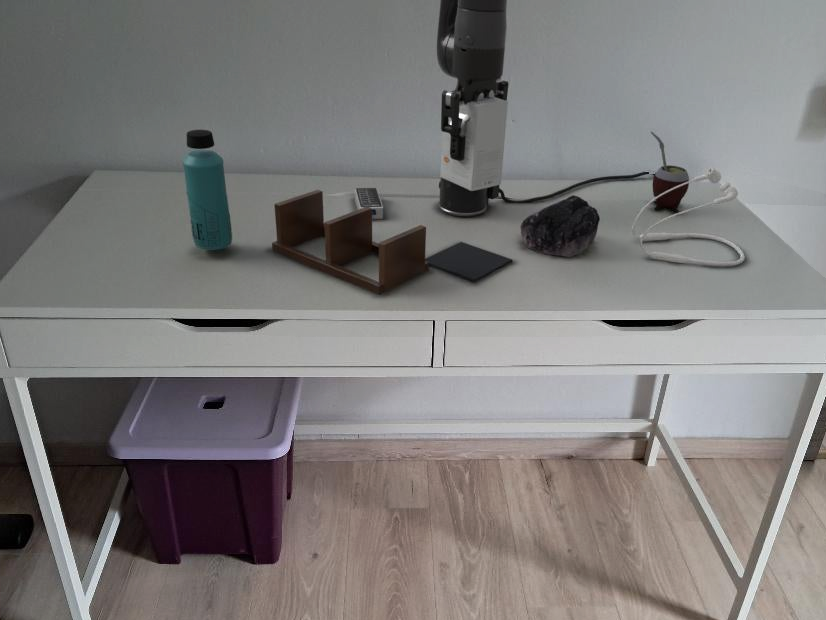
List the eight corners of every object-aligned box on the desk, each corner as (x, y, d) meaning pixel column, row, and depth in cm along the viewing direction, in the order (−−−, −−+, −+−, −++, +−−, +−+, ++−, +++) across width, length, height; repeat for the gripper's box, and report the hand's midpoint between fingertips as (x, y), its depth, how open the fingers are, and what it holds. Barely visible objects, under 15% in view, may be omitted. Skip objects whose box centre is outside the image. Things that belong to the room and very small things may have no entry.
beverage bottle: (241, 247, 136) (229, 128, 125) (219, 262, 130) (205, 139, 119) (208, 240, 137) (193, 123, 126) (185, 255, 132) (168, 133, 121)
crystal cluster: (507, 236, 147) (510, 186, 141) (572, 223, 151) (577, 174, 145) (540, 271, 137) (545, 219, 131) (608, 256, 141) (615, 205, 135)
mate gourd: (690, 210, 162) (706, 136, 154) (663, 216, 158) (679, 141, 150) (663, 199, 167) (677, 126, 159) (636, 205, 163) (649, 131, 155)
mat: (460, 244, 141) (461, 241, 141) (512, 262, 136) (512, 259, 135) (421, 263, 134) (421, 260, 133) (474, 283, 128) (474, 279, 128)
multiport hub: (376, 198, 159) (376, 187, 157) (383, 219, 150) (383, 207, 148) (354, 199, 158) (354, 187, 157) (359, 219, 149) (359, 207, 148)
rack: (324, 230, 143) (322, 187, 139) (429, 270, 131) (431, 224, 127) (272, 250, 135) (268, 205, 131) (379, 295, 123) (379, 247, 119)
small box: (501, 185, 126) (509, 100, 119) (471, 192, 123) (477, 105, 116) (468, 171, 131) (474, 89, 124) (438, 177, 128) (443, 93, 121)
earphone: (620, 214, 147) (707, 155, 141) (663, 278, 154) (747, 224, 149) (638, 243, 135) (733, 180, 130) (684, 311, 143) (776, 254, 137)
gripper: (487, 33, 123) (479, 141, 131) (428, 43, 113) (424, 158, 122) (528, 40, 119) (516, 151, 128) (470, 51, 109) (462, 170, 118)
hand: (471, 154), depth 125 cm, fingers closed on small box, 7 cm apart
